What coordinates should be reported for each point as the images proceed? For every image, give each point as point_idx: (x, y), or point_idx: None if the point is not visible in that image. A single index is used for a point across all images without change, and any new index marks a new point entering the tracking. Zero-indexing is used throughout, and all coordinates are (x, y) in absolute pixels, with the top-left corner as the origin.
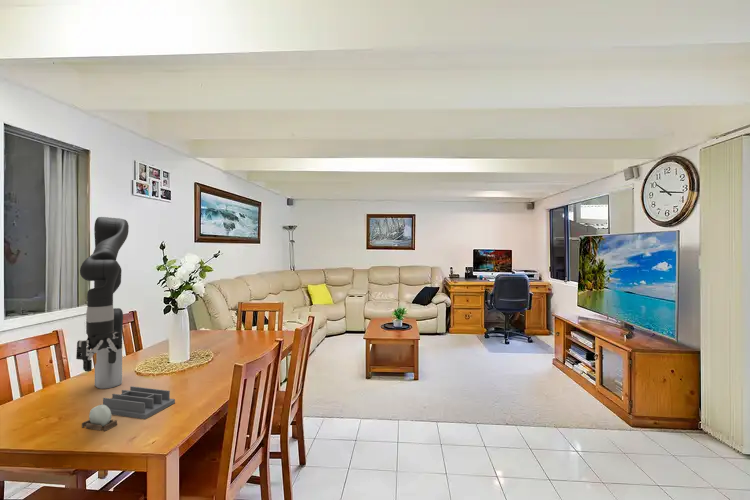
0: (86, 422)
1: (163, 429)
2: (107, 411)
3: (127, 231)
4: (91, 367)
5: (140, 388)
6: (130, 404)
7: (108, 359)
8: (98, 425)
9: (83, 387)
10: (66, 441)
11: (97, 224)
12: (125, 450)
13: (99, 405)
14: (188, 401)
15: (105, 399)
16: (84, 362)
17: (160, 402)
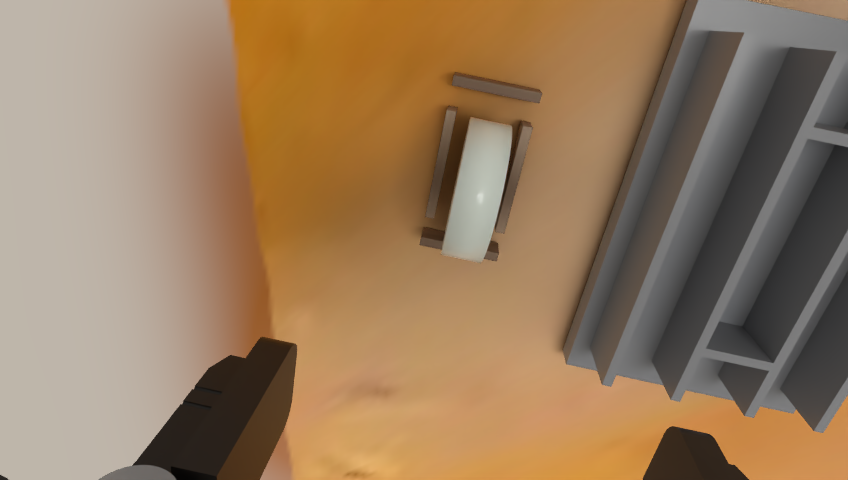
0: (475, 88)
1: (461, 464)
2: (460, 258)
3: None
4: (265, 456)
5: None
6: (633, 283)
7: (693, 468)
8: (429, 202)
9: None
10: (307, 110)
11: None
12: None
13: (478, 204)
14: (798, 447)
15: (728, 61)
16: (159, 462)
17: (723, 378)
